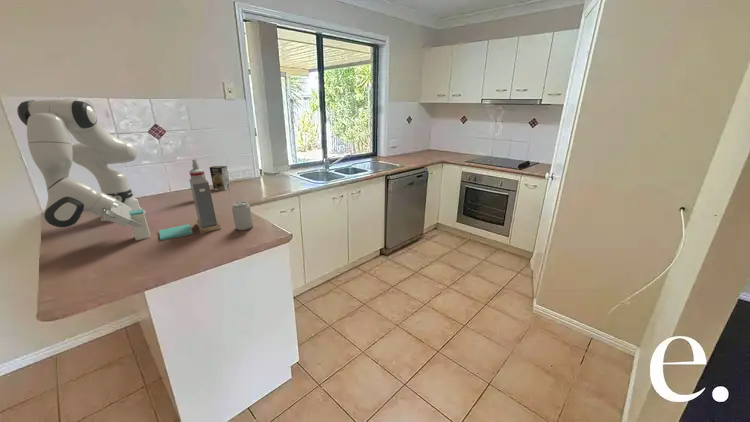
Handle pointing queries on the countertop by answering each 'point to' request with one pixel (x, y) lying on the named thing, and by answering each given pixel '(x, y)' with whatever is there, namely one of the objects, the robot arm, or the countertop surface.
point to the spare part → (143, 230)
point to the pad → (175, 232)
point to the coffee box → (220, 177)
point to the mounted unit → (204, 205)
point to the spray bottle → (196, 171)
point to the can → (242, 215)
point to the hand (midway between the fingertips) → (140, 223)
